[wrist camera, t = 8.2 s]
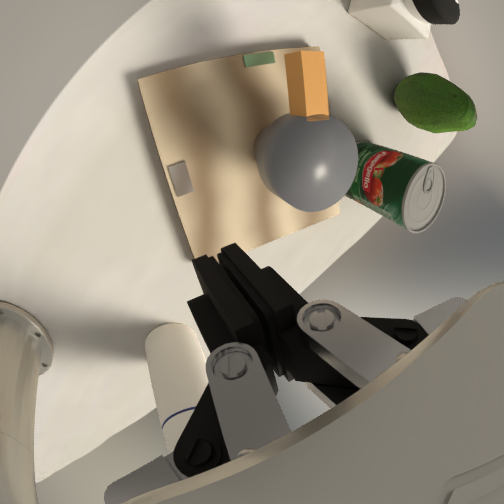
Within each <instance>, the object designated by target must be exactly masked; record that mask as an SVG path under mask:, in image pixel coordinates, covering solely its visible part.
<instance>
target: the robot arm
mask: <svg viewBox="0 0 504 504" xmlns="http://www.w3.org/2000/svg"><path fill="white" fill-rule="evenodd" d="M217 258H218V261H219V263H218V262H217V260H216V259H215V258H214V256H211V257H208V256H207V255H206V254H205V255H203V256H200V257H198V258H196V259H193V260H192V263H193V266H194V269H195V271H196V274H197V277H198V280H199V282H200V285H201V288H202V290H203V293H204V294H203V295H201V296H199V297H196V298H194V299H192V300H189V301H187V303H188V306H189V308H190V310H191V312H192V315H193V317H194V319H195V321H196V324H197V326H198V328H199V330H200V332H201V334H202V337H203V339H204V341H205V343H206V345H207V347H208V349H209V351H210V353H211V354H210V355H209V357H208V359H207V361H206V374H207V378H208V382H209V383H208V384H207V386H206V388H205V390H204V392H203V394H202V396H201V398H200V400H199V402H198V404H197V406H196V408H195V409H194V411H193V413H192V415H191V417H190V419H189V421H188V423H187V425H186V426H185V428H184V430H183V432H182V434H181V436H180V438H179V440H178V441H177V443H176V445H175V448H174V451H173V452H172V453H170V454H168V455H167V456H165V457H164V456H163V455H161V456H159V457H158V458H156V459H154V460H153V461H151V462H149V463H147V464H146V465H144V466H142V467H140V468H139V469H137V470H135V471H133V472H131V473H130V474H128V475H126V476H124V477H122V478H120V479H119V480H117V481H115V482H113V483H112V484H110V485H109V486H108V487H107V489H106V491H105V494H104V501H105V504H504V281H501V282H498V283H495V284H492V285H490V286H488V287H486V288H484V289H482V290H480V291H479V292H477V293H476V294H474V295H473V296H472V297H470V298H469V299H468V300H466V299H463V298H458V297H455V298H451V299H449V300H447V301H445V302H443V303H441V304H439V305H437V306H435V307H433V308H431V309H429V310H427V311H425V312H423V313H421V314H419V315H416V316H414V319H413V320H407V319H390V318H370V317H359V316H357V315H356V314H354V313H352V312H351V311H349V310H348V309H346V308H345V307H343V306H342V305H340V304H338V303H336V302H334V301H330V300H316V301H312V302H310V303H308V302H306V301H305V300H304V299H303V298H302V297H301V296H300V295H299V294H298V293H297V292H296V291H295V290H294V289H293V288H292V287H291V286H290V285H289V284H288V283H287V282H286V281H285V280H284V279H283V278H282V277H281V276H280V275H279V274H278V273H277V272H276V271H275V270H274V269H273V268H271V267H270V266H268V267H265V268H263V269H260V268H259V267H258V266H257V265H256V263H255V262H254V261H253V260H252V259H251V258H250V257H249V256H248V255H247V254H246V253H245V252H244V251H243V250H242V249H241V248H240V247H239V246H238V245H237V244H236V243H232V244H230V245H227V246H225V247H222V248H221V253H218V254H217ZM52 358H53V346H52V343H51V340H50V338H49V336H48V334H47V332H46V331H45V329H44V328H43V327H42V325H41V324H40V323H39V322H38V321H37V320H36V319H35V318H33V317H32V316H31V315H30V314H29V313H27V312H25V311H24V310H22V309H21V308H18V307H16V306H14V305H12V304H8V303H5V302H0V504H38V499H37V493H36V485H35V472H34V422H35V407H36V395H37V386H38V377H39V375H41V374H43V373H44V372H46V371H47V370H48V369H49V367H50V366H51V363H52ZM273 370H274V371H275V372H276V374H277V375H278V376H279V377H280V376H282V375H284V376H285V377H286V379H287V380H288V381H291V380H293V379H295V380H296V381H301V382H305V385H306V386H307V387H308V388H309V389H310V390H311V391H312V392H313V393H314V394H315V395H317V396H318V397H319V398H320V399H321V400H322V401H323V402H324V403H325V404H327V405H328V406H329V407H330V408H331V409H330V410H328V411H327V412H325V413H323V414H322V415H320V416H318V417H317V418H315V419H313V420H312V421H310V422H308V423H306V424H305V425H303V426H301V427H299V428H298V429H296V430H294V431H291V429H290V427H289V425H288V423H287V420H286V419H285V416H284V414H283V412H282V409H281V407H280V405H279V403H278V400H277V398H276V395H277V392H278V387H277V383H276V379H275V375H274V371H273Z"/></svg>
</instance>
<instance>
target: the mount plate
mask: <svg viewBox="0 0 504 504" xmlns="http://www.w3.org/2000/svg"><path fill="white" fill-rule="evenodd" d="M296 51H320V48H319V46H318V47H299V48H286V49H276V50H267V51H259V52H252V53H245V54H239V55H233V56H227V57H222V58H217V59H212V60H207V61H203V62H198V63H194V64H190V65H186V66H182V67H178V68H174V69H171V70H167V71H164V72H160V73H157V74H154V75H151V76H147V77H144V78H141V79H138V84H139V88H140V92H141V96H142V99H143V103H144V106H145V110H146V113H147V117H148V120H149V124H150V127H151V131H152V134H153V137H154V141H155V144H156V147H157V150H158V154H159V157H160V160H161V163H162V166H163V169H164V172H165V176H166V179H167V182H168V185H169V188H170V191H171V194H172V197H173V200H174V203H175V206H176V208H177V211H178V214H179V217H180V220H181V223H182V226H183V229H184V231H185V234H186V237H187V240H188V242H189V245H190V248H191V251H192V253H193V256H194V259H196V258H198V257H200V256H203V255H205V254H206V255H207V256H208V257H211V256H214V258H215V259H216V260H217V262H218V263H219V261H218V258H217V254H218V253H221V248H222V247H225V246H227V245H230V244H232V243H236V244H237V245H238V246H239V247H240V248H241V249H242V250H243V251H244V252H246V251H248V250H251V249H253V248H256V247H258V246H261V245H263V244H266V243H268V242H271V241H273V240H276V239H278V238H281V237H283V236H286V235H288V234H291V233H293V232H296V231H298V230H301V229H303V228H306V227H308V226H311V225H313V224H316V223H318V222H321V221H323V220H326V219H328V218H331V217H333V216H336V215H338V214H340V207H339V201H338V202H337V203H336V204H334V205H333V206H331V207H329V208H327V209H325V210H322V211H317V212H305V211H301V210H298V209H296V208H294V207H293V206H291V205H290V204H288V203H287V202H285V201H284V200H282V199H281V198H279V197H278V196H276V195H275V194H273V193H272V192H271V191H270V190H268V188H267V187H266V186H265V185H264V183H263V182H262V180H261V178H260V175H259V172H258V168H257V150H258V146H259V143H260V140H261V138H262V136H263V134H264V132H265V131H266V129H267V128H268V127H269V126H270V124H271V123H273V122H274V121H275V120H276V119H278V118H279V117H281V116H283V115H285V114H287V113H290V110H289V98H288V88H287V78H286V68H285V59H284V54H287V53H292V52H296ZM327 95H328V94H327ZM328 111H329V115H330V116H331V114H330V107H329V100H328Z"/></svg>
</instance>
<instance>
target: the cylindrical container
mask: <svg viewBox="0 0 504 504" xmlns="http://www.w3.org/2000/svg"><path fill="white" fill-rule="evenodd" d="M145 351H146V357H147V363H148V368H149V373H150V378H151V383H152V388H153V393H154V397H155V402H156V406H157V410H158V414H159V418H160V422H161V426H162V430H163V434H164V437H165V441H166V445H167V448H168V451H169V454H170V453H172V452H173V451H174V448H175V445H176V443H177V441H178V440H179V438H180V436H181V434H182V432H183V430H184V428H185V426H186V425H187V423H188V421H189V419H190V417H191V415H192V413H193V411H194V409H195V408H196V406H197V404H198V402H199V400H200V398H201V396H202V394H203V392H204V390H205V388H206V386H207V384H208V383H209V382H208V378H207V374H206V359H205V356H204V354H203V351H202V349H201V346H200V343H199V341H198V338H197V335H196V333H195V332H194V330H193V329H191V328H190V327H188V326H186V325H183V324H179V323H170V324H164V325H161V326H159V327H157V328H155V329H154V330H152V331H151V332H150V333H149V334H148V336H147V337H146V339H145Z"/></svg>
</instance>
